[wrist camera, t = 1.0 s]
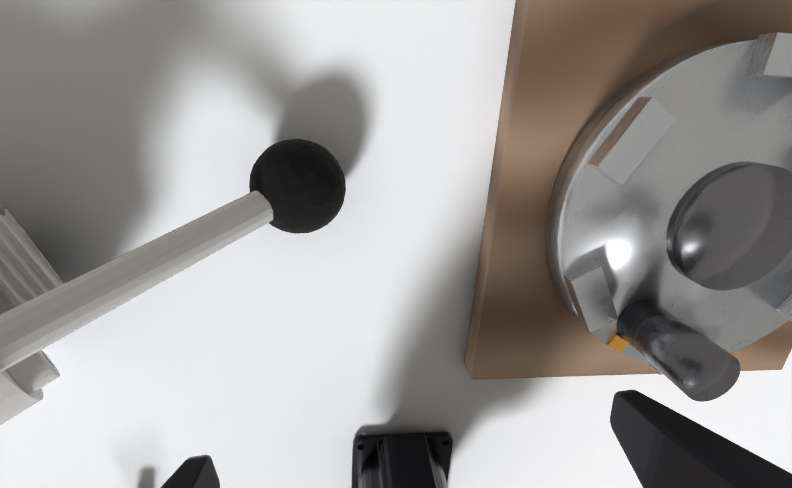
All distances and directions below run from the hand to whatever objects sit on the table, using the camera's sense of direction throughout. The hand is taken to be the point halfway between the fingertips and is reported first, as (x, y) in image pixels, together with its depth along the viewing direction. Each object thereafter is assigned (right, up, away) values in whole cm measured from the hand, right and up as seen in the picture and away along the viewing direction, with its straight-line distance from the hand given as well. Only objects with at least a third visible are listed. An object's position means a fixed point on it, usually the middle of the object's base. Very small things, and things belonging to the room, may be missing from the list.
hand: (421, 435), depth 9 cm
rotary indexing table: (+15, +6, +12) cm, 20 cm away
